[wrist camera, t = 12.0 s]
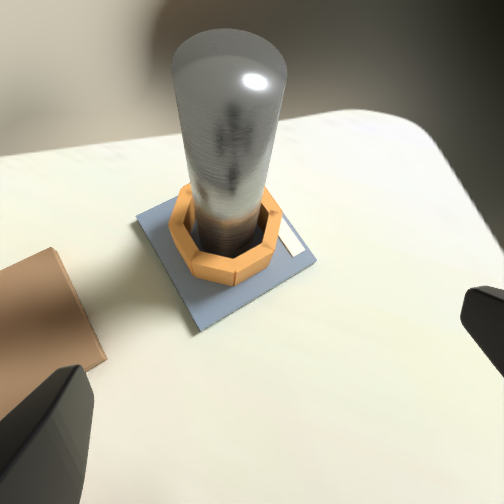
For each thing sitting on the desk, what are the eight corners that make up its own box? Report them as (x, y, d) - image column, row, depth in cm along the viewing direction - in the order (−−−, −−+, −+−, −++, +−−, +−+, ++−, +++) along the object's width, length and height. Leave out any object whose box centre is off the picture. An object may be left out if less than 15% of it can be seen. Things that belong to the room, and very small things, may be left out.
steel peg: (251, 265, 22) (286, 117, 10) (197, 261, 21) (162, 105, 9) (254, 217, 23) (288, 35, 11) (203, 212, 23) (179, 22, 11)
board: (107, 359, 20) (102, 358, 19) (-36, 442, 17) (-47, 445, 17) (56, 251, 22) (50, 246, 21) (-77, 314, 20) (-88, 312, 19)
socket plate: (314, 262, 23) (330, 243, 19) (200, 331, 21) (196, 323, 17) (246, 167, 25) (250, 135, 22) (137, 219, 23) (123, 193, 19)
